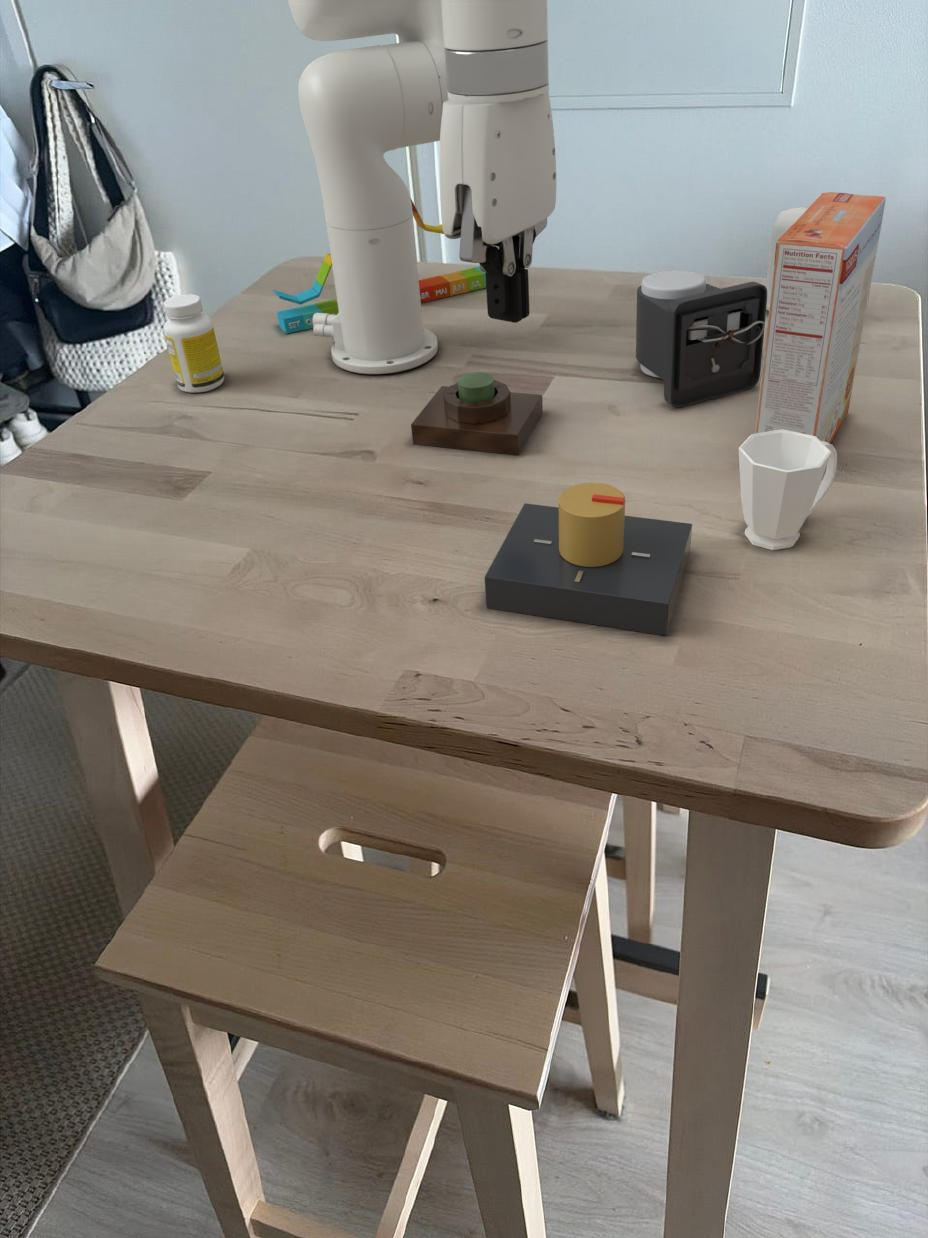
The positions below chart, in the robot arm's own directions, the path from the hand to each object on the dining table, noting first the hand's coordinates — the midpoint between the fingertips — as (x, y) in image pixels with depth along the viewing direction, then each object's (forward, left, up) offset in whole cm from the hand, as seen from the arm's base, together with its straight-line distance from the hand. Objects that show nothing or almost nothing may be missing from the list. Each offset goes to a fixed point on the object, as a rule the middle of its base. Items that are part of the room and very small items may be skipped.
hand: (508, 316), depth 84 cm
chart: (-28, +39, -16) cm, 51 cm away
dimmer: (+11, -15, -12) cm, 22 cm away
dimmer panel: (+11, -15, -15) cm, 24 cm away
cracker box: (+25, +12, -16) cm, 32 cm away
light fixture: (+12, +24, -16) cm, 31 cm away
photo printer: (+23, +43, -16) cm, 51 cm away
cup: (+25, -4, -16) cm, 29 cm away
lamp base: (-6, +8, -15) cm, 19 cm away
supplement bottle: (-41, +12, -16) cm, 46 cm away
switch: (-6, +8, -12) cm, 16 cm away
